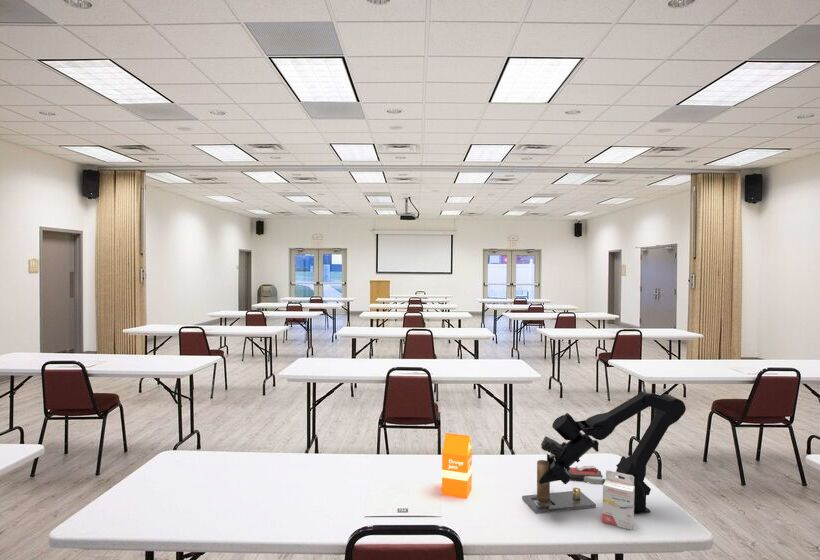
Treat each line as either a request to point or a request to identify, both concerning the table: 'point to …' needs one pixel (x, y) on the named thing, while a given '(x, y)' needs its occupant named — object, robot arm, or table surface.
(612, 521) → the ink cartridge box
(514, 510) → the table surface
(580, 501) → the plate
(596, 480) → the red gray flat block
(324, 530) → the table surface
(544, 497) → the peg
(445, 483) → the orange juice
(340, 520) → the table surface
